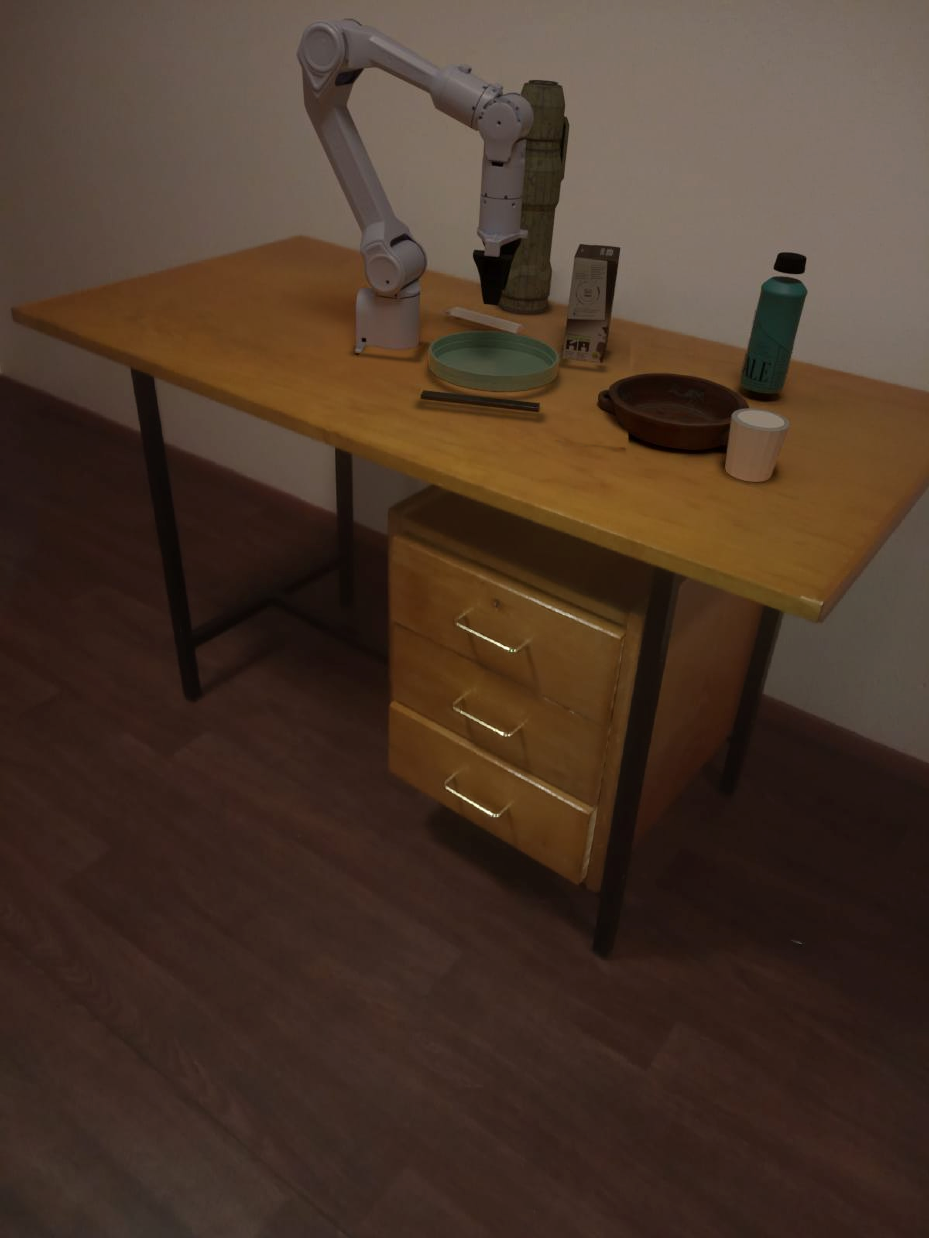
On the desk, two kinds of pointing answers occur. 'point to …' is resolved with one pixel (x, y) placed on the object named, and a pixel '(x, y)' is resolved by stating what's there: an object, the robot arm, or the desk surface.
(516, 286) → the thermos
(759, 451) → the white short cylinder
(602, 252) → the coffee box
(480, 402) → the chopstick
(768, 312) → the beverage bottle
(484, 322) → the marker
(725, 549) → the desk surface
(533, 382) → the green round tray
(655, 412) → the dish
